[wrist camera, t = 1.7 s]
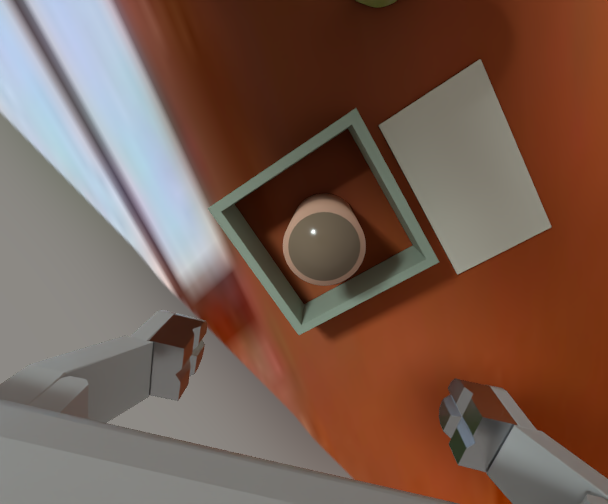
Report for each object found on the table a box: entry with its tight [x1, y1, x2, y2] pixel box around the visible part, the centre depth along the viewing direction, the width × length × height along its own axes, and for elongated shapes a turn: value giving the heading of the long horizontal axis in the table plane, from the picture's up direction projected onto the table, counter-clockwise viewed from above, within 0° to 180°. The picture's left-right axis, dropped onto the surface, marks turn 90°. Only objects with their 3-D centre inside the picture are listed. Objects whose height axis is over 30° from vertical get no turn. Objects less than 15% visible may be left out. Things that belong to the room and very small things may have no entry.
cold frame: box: [208, 108, 439, 335], centre depth 27 cm, size 14×14×4 cm
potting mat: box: [378, 59, 551, 274], centre depth 27 cm, size 16×9×1 cm, turn 32°
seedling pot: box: [283, 193, 366, 286], centre depth 26 cm, size 6×6×8 cm
